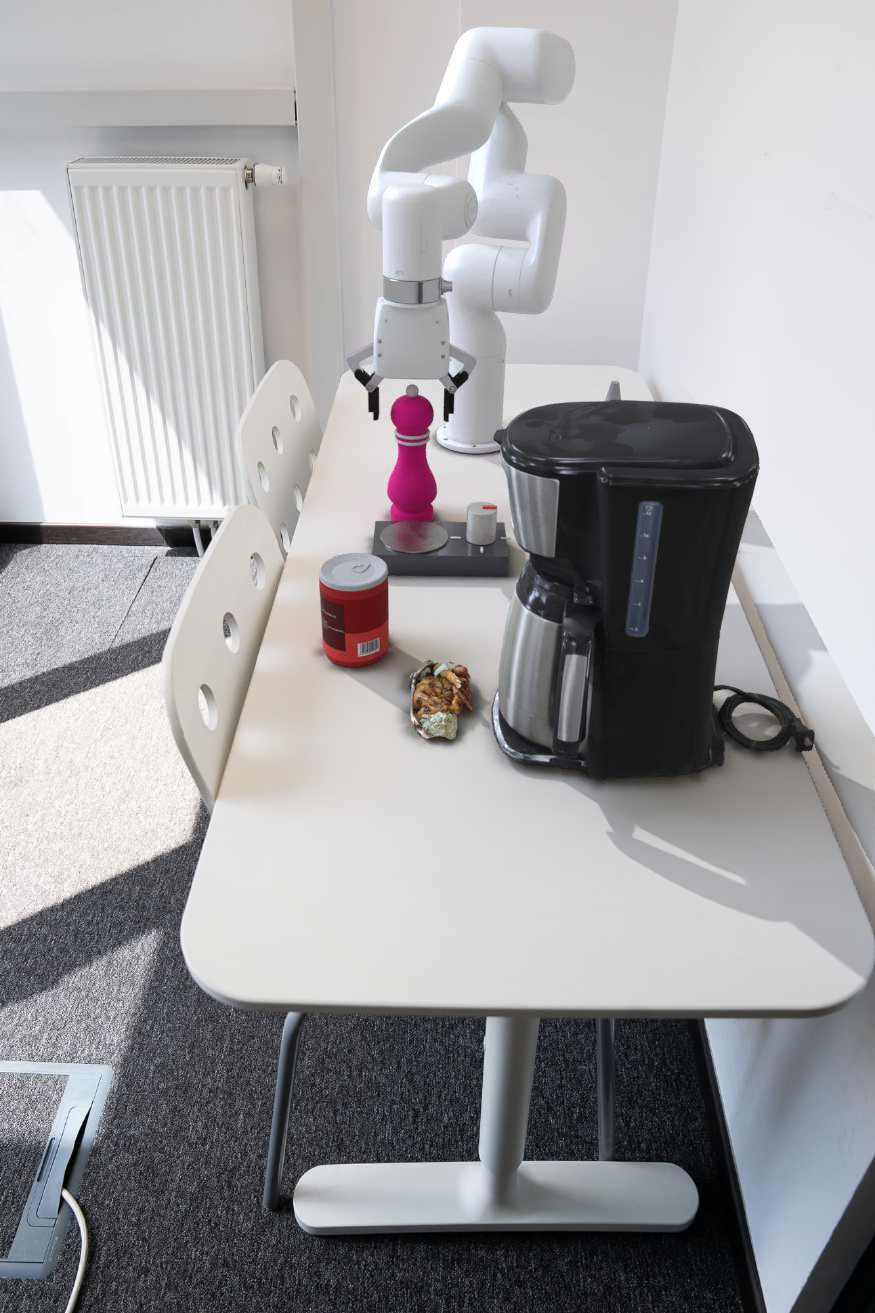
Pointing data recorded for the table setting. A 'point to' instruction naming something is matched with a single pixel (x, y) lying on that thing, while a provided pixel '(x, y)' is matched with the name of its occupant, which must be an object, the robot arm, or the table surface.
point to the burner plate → (414, 537)
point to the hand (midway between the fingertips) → (411, 417)
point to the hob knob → (481, 523)
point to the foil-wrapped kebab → (438, 698)
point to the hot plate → (448, 554)
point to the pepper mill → (412, 459)
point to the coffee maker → (625, 588)
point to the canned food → (354, 609)
